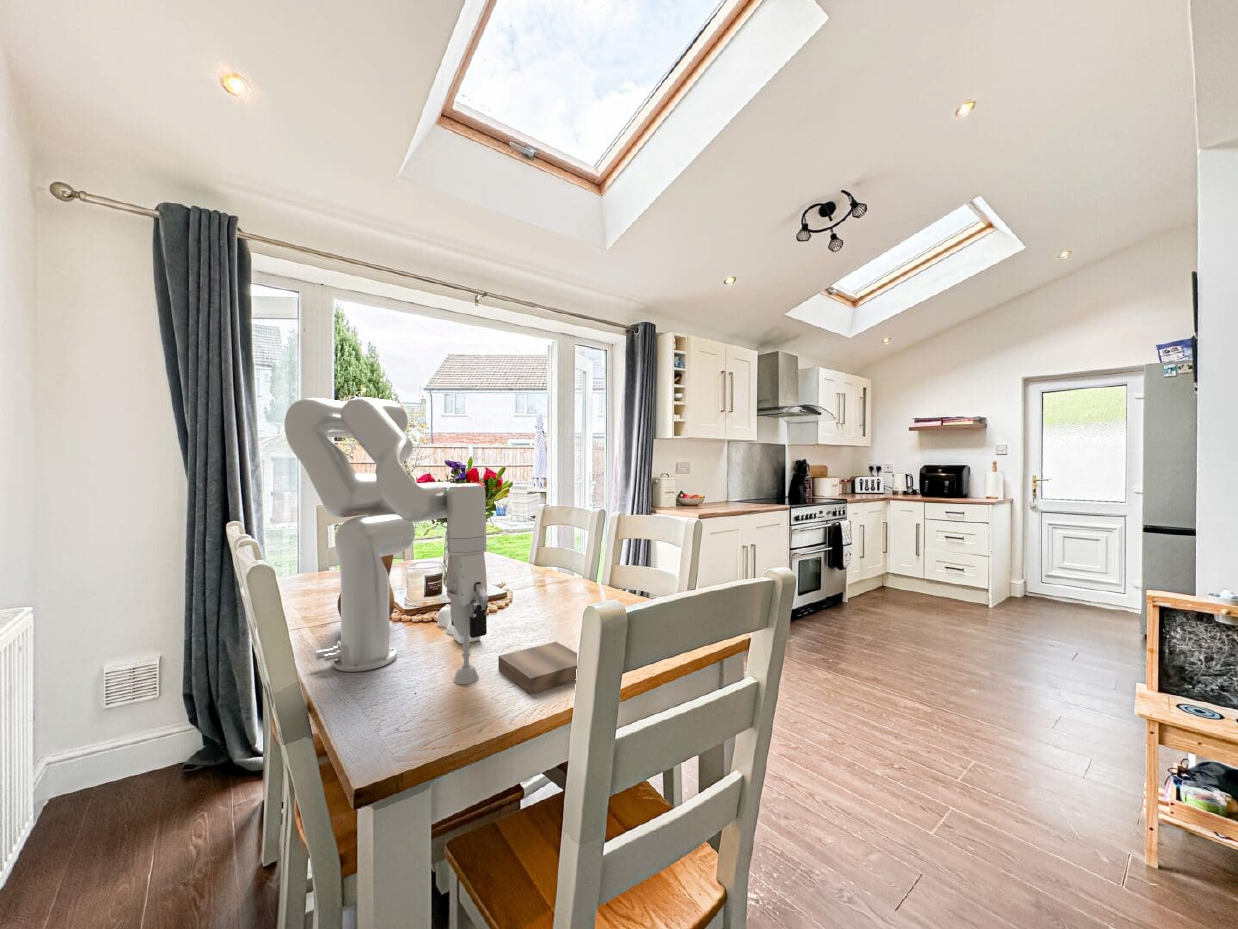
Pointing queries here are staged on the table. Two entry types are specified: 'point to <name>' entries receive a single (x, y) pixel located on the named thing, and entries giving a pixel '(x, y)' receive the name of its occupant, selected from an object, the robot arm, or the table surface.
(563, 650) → the walnut plinth
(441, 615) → the container set
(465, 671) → the chalice
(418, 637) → the table surface
